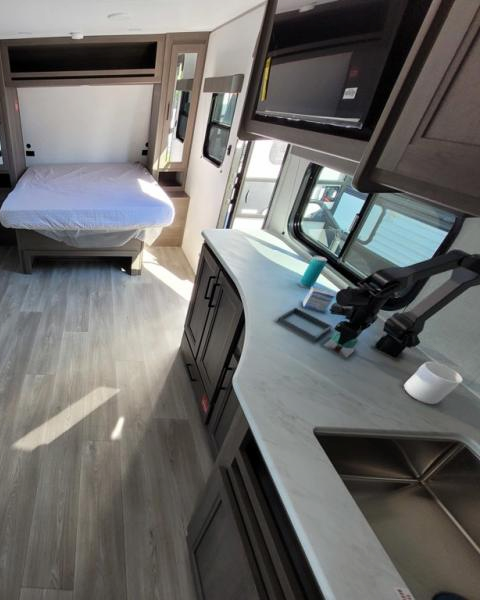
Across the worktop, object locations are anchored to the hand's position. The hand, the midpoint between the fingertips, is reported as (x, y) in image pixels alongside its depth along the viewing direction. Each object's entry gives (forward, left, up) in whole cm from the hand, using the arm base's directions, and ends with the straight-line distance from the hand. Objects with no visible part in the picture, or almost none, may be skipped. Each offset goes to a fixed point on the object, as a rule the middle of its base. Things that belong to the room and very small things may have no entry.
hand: (343, 340), depth 110 cm
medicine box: (+17, -20, -4) cm, 27 cm away
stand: (0, 0, -4) cm, 4 cm away
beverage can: (+28, -37, -4) cm, 47 cm away
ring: (0, 0, -1) cm, 1 cm away
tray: (+13, -2, -4) cm, 14 cm away
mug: (-23, -1, -4) cm, 23 cm away
